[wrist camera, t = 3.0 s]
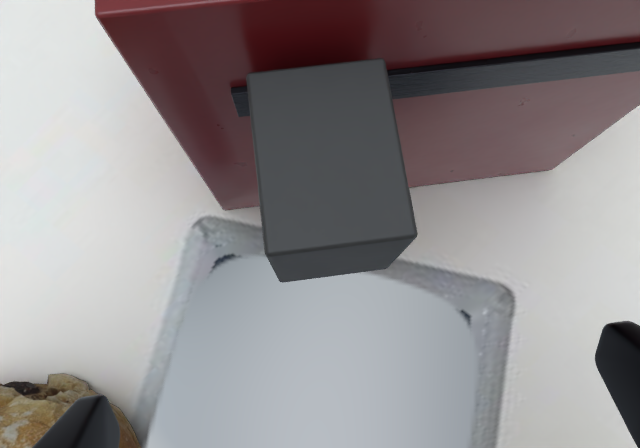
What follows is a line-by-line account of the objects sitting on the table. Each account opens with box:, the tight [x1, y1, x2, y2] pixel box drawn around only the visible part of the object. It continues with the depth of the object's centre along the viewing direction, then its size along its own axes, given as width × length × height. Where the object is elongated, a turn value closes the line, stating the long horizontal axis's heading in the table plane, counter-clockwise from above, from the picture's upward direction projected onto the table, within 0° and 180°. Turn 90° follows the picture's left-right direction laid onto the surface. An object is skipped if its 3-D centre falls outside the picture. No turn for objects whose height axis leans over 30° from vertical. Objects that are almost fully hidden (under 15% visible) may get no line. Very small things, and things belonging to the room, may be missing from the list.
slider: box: [246, 58, 417, 282], centre depth 12 cm, size 4×3×4 cm
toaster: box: [95, 0, 640, 210], centre depth 16 cm, size 9×15×13 cm, turn 98°
